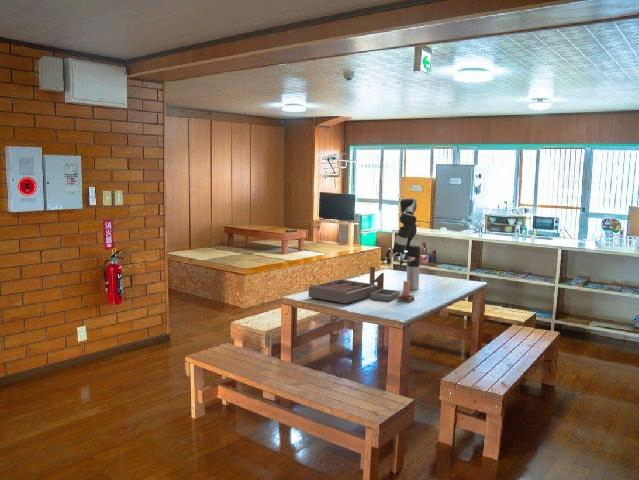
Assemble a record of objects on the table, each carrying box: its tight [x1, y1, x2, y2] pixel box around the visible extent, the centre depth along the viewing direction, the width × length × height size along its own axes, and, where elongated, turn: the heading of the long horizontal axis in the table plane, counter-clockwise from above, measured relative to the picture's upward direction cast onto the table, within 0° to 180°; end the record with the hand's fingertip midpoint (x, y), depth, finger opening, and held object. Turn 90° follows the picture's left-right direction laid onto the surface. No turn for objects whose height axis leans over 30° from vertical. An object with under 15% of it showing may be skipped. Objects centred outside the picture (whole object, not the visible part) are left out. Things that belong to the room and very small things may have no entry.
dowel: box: [402, 280, 410, 297], centre depth 360 cm, size 4×4×13 cm
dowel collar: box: [397, 293, 415, 303], centre depth 360 cm, size 9×9×3 cm
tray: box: [369, 288, 401, 303], centre depth 367 cm, size 20×14×4 cm
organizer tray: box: [307, 279, 377, 304], centre depth 367 cm, size 32×40×10 cm
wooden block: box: [369, 265, 385, 291], centre depth 389 cm, size 4×11×18 cm, turn 54°
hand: (394, 263), depth 357 cm, fingers open, 8 cm apart
